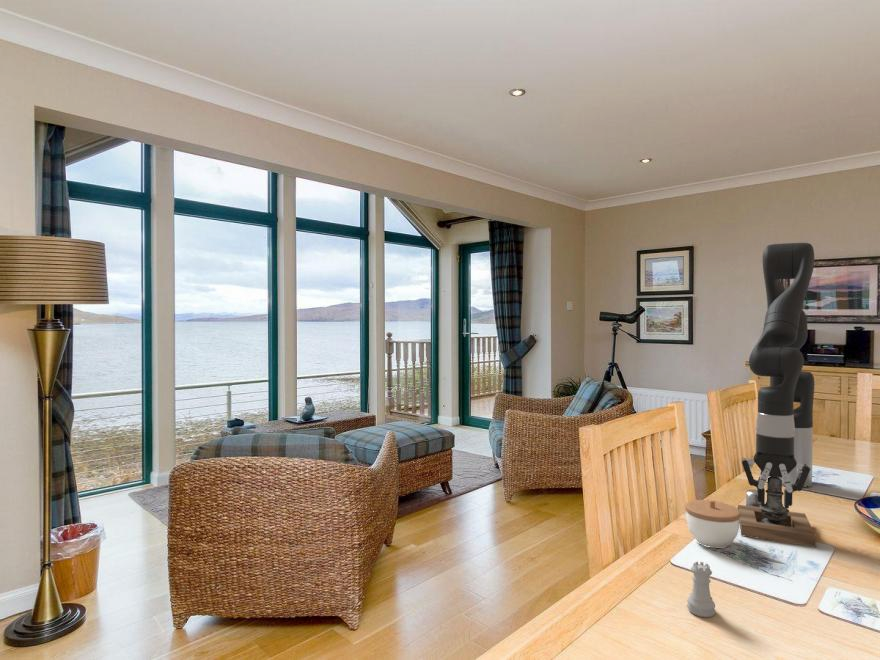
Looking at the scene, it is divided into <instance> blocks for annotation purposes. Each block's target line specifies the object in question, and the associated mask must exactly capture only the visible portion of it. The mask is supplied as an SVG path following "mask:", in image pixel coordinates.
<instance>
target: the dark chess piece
mask: <svg viewBox="0 0 880 660" xmlns="http://www.w3.org/2000/svg"><path fill="white" fill-rule="evenodd" d="M766 482H767V487H766V490H765V493H766V500H765V505H760V508H761V512H762V514H763V515H764V516H765V517H766V518H764V519H762V520H761V522H760V523H767V524H774V525H781V526H788V525H787V524H786V523H785V522H784V521H782V520H784V519H786V517H787V515H788V513H789V512H790V510H789V508H785V507H784V503H783V496H784V492H783V486H782V485H783V484H782V480H781V479H780V478H779V477H777V476H768V478H767V481H766ZM788 527H789V526H788Z"/></svg>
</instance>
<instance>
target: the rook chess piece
mask: <svg viewBox="0 0 880 660" xmlns="http://www.w3.org/2000/svg"><path fill="white" fill-rule="evenodd" d="M699 563H700V564H699ZM692 565H693V566H691V567H690V570H691V572H692V573H693V575H692V576H691V577H692V578H691V579H692V580H693V585H692V586H693V587H692V591H691V593H690V594H689V596H688V597H687V603H686V608H687V609H688V610H689V612H690V613H691V614H693V615H695V616H697V617H698V618H699V617H700V618H707V619H708V618H712V617H713V616H714V615H716V603H715V601H714V600H713V597H712V596H711V590H710V589H711V588H710V583H711V579H710V576H711V575H712V574H713V571H712V570H711V567H710V565H709V563H707V562H705V563H704V561H700V562H699V561H695V562H693V564H692Z"/></svg>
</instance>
